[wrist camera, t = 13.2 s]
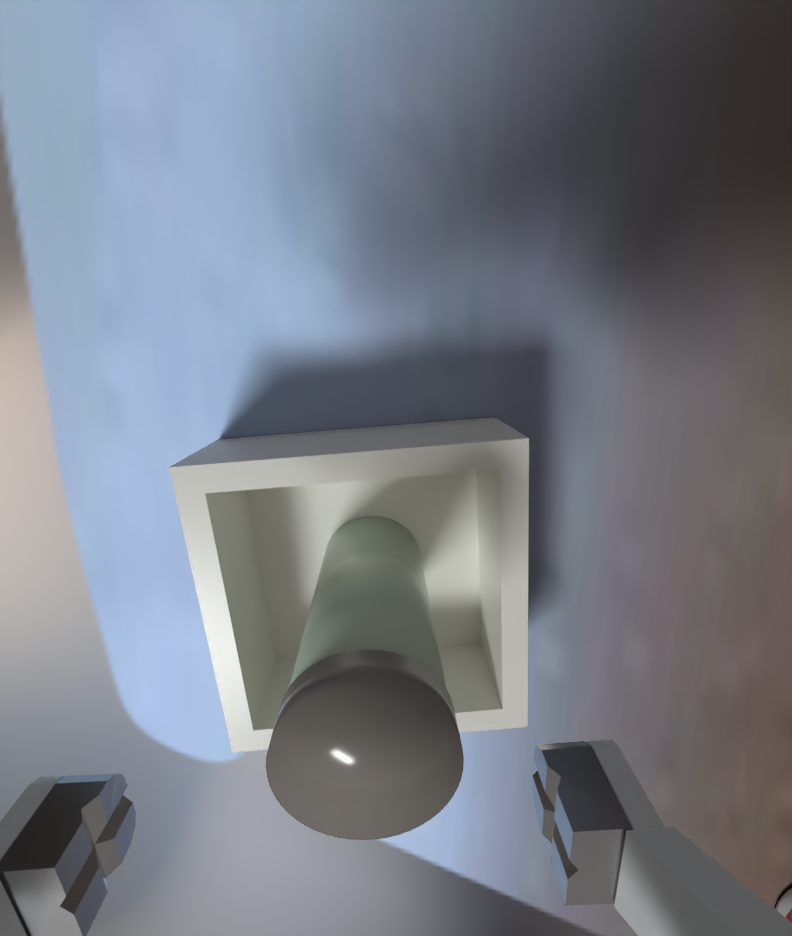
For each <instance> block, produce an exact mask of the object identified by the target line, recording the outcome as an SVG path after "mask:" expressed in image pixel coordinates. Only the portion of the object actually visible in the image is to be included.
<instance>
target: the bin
mask: <svg viewBox="0 0 792 936" xmlns="http://www.w3.org/2000/svg"><path fill="white" fill-rule="evenodd" d="M169 469H170V474H171V478H172V483H173V487H174V492H175V496H176V501H177V505H178V510H179V514H180V519H181V523H182V528H183V532H184V537H185V541H186V546H187V550H188V555H189V559H190V564H191V568H192V573H193V577H194V582H195V586H196V591H197V595H198V600H199V604H200V609H201V613H202V617H203V622H204V626H205V631H206V635H207V640H208V644H209V649H210V653H211V658H212V662H213V667H214V671H215V676H216V680H217V685H218V689H219V694H220V698H221V703H222V707H223V712H224V716H225V721H226V725H227V730H228V734H229V739H230V743H231V748H232V752H243V751H255V750H266V749H268V748H269V744H270V740H271V737H272V733H273V729H274V726H275V722H276V719H277V715H278V711H279V708H280V704H281V702H282V699H283V697H284V695H285V693H286V691H287V690H288V688H289V686H290V682H291V678H292V674H293V671H294V667H295V663H296V659H297V655H298V652H299V648H300V644H301V640H302V637H303V633H304V629H305V625H306V622H307V618H308V614H309V610H310V606H311V603H312V599H313V595H314V591H315V588H316V584H317V580H318V576H319V573H320V569H321V565H322V561H323V557H324V554H325V550H326V547H327V544H328V542H329V540H330V538H331V537H332V535H333V534H334V533H335V532H336V531H337V530H338V529H339V528H340V527H341V526H343V525H344V524H346V523H347V522H349V521H351V520H354V519H357V518H360V517H366V516H380V517H385V518H389V519H391V520H394V521H396V522H398V523H400V524H401V525H403V526H404V527H405V528H406V529H407V530H408V531H409V532H410V533H411V534H412V535H413V537H414V538H415V540H416V542H417V544H418V547H419V550H420V555H421V560H422V565H423V570H424V576H425V581H426V586H427V591H428V596H429V602H430V607H431V612H432V617H433V622H434V627H435V633H436V638H437V643H438V648H439V653H440V659H441V664H442V669H443V674H444V679H445V685H446V689H447V691H448V693H449V695H450V697H451V700H452V703H453V706H454V711H455V716H456V720H457V725H458V730H459V733H462V732H473V731H485V730H496V729H508V728H519V727H527V699H528V533H529V438H528V437H526V436H525V435H523V434H521V433H520V432H518V431H516V430H515V429H513V428H512V427H510V426H508V425H507V424H505V423H504V422H502V421H500V420H499V419H497V418H496V417H489V418H477V419H464V420H452V421H439V422H427V423H414V424H402V425H390V426H377V427H365V428H352V429H340V430H327V431H315V432H302V433H290V434H277V435H265V436H252V437H240V438H227V439H218V440H216V441H215V442H213V443H211V444H209V445H208V446H206V447H204V448H202V449H201V450H199V451H197V452H195V453H194V454H192V455H190V456H188V457H187V458H185V459H183V460H181V461H179V462H178V463H176V464H174V465H172V466H171V467H169Z"/></svg>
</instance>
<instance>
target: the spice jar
mask: <svg viewBox="0 0 792 936" xmlns="http://www.w3.org/2000/svg"><path fill="white" fill-rule="evenodd" d="M463 759H464V758H463V751H462V745H461V740H460V735H459V730H458V725H457V720H456V716H455V711H454V706H453V703H452V700H451V697H450V695H449V693H448V691H447V689H446V685H445V679H444V674H443V669H442V664H441V659H440V653H439V648H438V643H437V638H436V633H435V627H434V622H433V617H432V612H431V607H430V602H429V596H428V591H427V586H426V581H425V576H424V570H423V565H422V560H421V555H420V550H419V547H418V544H417V542H416V540H415V538H414V537H413V535H412V534H411V533H410V532H409V531H408V530H407V529H406V528H405V527H404V526H403V525H401V524H400V523H398V522H396V521H394V520H391V519H389V518H385V517H380V516H366V517H360V518H357V519H354V520H351V521H349V522H347V523H346V524H344V525H343V526H341V527H340V528H339V529H338V530H337V531H336V532H335V533H334V534H333V535H332V537H331V538H330V540H329V542H328V544H327V547H326V550H325V554H324V557H323V561H322V565H321V569H320V573H319V576H318V580H317V584H316V588H315V591H314V595H313V599H312V603H311V606H310V610H309V614H308V618H307V622H306V625H305V629H304V633H303V637H302V640H301V644H300V648H299V652H298V655H297V659H296V663H295V667H294V671H293V674H292V678H291V682H290V686H289V688H288V690H287V691H286V693H285V695H284V697H283V699H282V702H281V704H280V708H279V711H278V715H277V719H276V722H275V726H274V729H273V733H272V737H271V740H270V744H269V748H268V753H267V757H266V771H267V778H268V781H269V785H270V787H271V789H272V792H273V794H274V796H275V797H276V799H277V800H278V802H279V803H280V805H281V806H282V807H283V808H284V809H285V810H286V811H287V812H288V813H289V814H290V815H291V816H293V817H294V818H295V819H296V820H298V821H299V822H301V823H302V824H304V825H305V826H308V827H310V828H311V829H314V830H316V831H318V832H321V833H324V834H326V835H331V836H334V837H338V838H345V839H354V840H355V839H356V840H372V839H381V838H387V837H391V836H395V835H399V834H402V833H405V832H407V831H410V830H412V829H414V828H416V827H419V826H420V825H422V824H424V823H425V822H427V821H429V820H430V819H431V818H433V817H434V816H435V815H436V814H438V813H439V812H440V811H441V810H442V809H443V808H444V807H445V806H446V805H447V803H448V802H449V801H450V799H451V798H452V797H453V795H454V793H455V791H456V790H457V788H458V785H459V783H460V780H461V777H462V772H463Z"/></svg>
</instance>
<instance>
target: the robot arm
mask: <svg viewBox="0 0 792 936" xmlns="http://www.w3.org/2000/svg"><path fill="white" fill-rule="evenodd" d="M534 761H535V764H536V767H537V770H538V771H537V772H536V773H535V774H534V775H533V781H532V791H533V799H534V806H535V810H536V814H537V818H538V822H539V825H540V828H541V831H542V834H543V835H544V836H545V837H546V838H547V839H548V840H549V841H550V842H551V843H552V853H551V863H552V866H553V869H554V872H555V875H556V878H557V881H558V884H559V887H560V890H561V893H562V896H563V900H564V903H565V905H589V904H614V907H615V908H616V910H617V911H618V912H619V913H620V914H621V916H622V917H623V918H624V919H625V920H626V922H627V923H628V924H629V925H630V926H631V927H632V929H633V930H634V931H635V932H636V933H637V935H638V936H792V922H790V921H789V920H788V919H787V918H785V917H784V916H783V915H782V914H780V913H779V912H778V911H777V910H775V909H774V908H773V907H772V906H771V905H769V904H768V903H767V902H766V901H764V900H763V899H762V898H761V897H759V896H758V895H757V894H756V893H754V892H753V891H752V890H751V889H749V888H748V887H747V886H746V885H744V884H743V883H742V882H741V881H739V880H738V879H737V878H736V877H735V876H733V875H732V874H731V873H730V872H728V871H727V870H726V869H725V868H723V867H722V866H721V865H720V864H718V863H717V862H716V861H715V860H713V859H712V858H711V857H710V856H708V855H707V854H706V853H705V852H704V851H702V850H701V849H700V848H699V847H697V846H696V845H695V844H694V843H692V842H691V841H690V840H689V839H687V838H686V837H685V836H684V835H682V834H681V833H680V832H679V831H677V830H676V829H675V828H674V827H672V828H665V826H664V825H663V823H662V821H661V819H660V818H659V816H658V814H657V812H656V811H655V809H654V807H653V805H652V804H651V802H650V800H649V799H648V797H647V795H646V793H645V792H644V790H643V788H642V786H641V785H640V783H639V781H638V779H637V778H636V776H635V774H634V773H633V771H632V769H631V767H630V766H629V764H628V762H627V760H626V759H625V757H624V755H623V754H622V752H621V750H620V748H619V747H618V745H617V744H616V743H615V742H614V741H613V740H601V741H587V742H585V741H578V742H566V743H554V744H542V745H536V747H535V749H534ZM126 787H127V784H126V781H125V778H124V776H123V774H97V775H69V776H51V777H39V778H38V779H36V780H35V781H34V782H32V783H31V784H30V785H29V786H28V787H27V788H26V789H25V791H24V792H23V793H22V794H21V796H20V797H19V798H18V800H17V801H16V802H15V803H14V805H13V806H12V807H11V808H10V810H9V811H8V812H7V814H6V815H5V816H4V818H3V819H2V820H1V821H0V936H86V935H87V933H88V931H89V929H90V927H91V925H92V923H93V921H94V919H95V917H96V915H97V913H98V911H99V909H100V907H101V905H102V903H103V901H104V899H105V897H106V895H107V892H108V890H107V877H108V876H109V874H111V873H112V872H113V871H114V870H115V869H116V868H117V867H118V866H119V865H120V864H121V863H122V862H123V859H124V857H125V855H126V853H127V851H128V849H129V847H130V845H131V841H132V837H133V833H134V829H135V825H136V824H135V821H136V818H135V816H136V814H135V809H134V805H133V803H132V802H131V801H130V800H129V799H127V798H126V797H125V796H123V793H124V791H125V789H126Z"/></svg>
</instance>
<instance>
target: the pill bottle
mask: <svg viewBox="0 0 792 936" xmlns="http://www.w3.org/2000/svg"><path fill="white" fill-rule="evenodd" d="M775 910H777V911H778V912H779V913H780V914H782V915H783V916H784V917H785V918H787V919H788V920H789V921H790V922H792V888H791V889H789V890H788V891H787V892H786V893H785V894H784V895H783V896H782V897H781V898H780V900H779V901H778V903H777V906H776V909H775Z"/></svg>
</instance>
